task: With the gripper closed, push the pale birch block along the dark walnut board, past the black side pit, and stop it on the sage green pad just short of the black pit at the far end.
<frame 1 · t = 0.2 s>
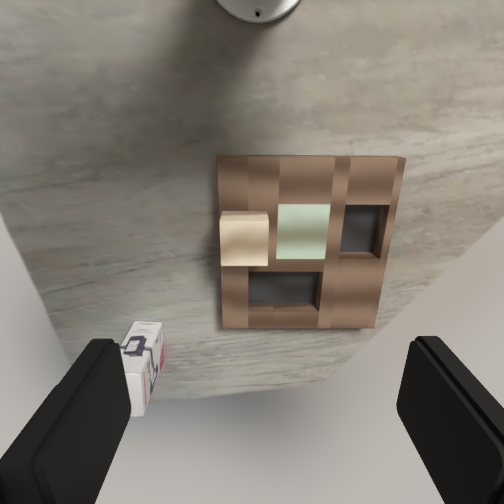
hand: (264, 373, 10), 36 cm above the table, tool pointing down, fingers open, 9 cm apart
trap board: (301, 244, 47), on the table
ink box: (149, 340, 54), on the table
birch block: (244, 232, 43), point 3 cm above the table, touching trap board
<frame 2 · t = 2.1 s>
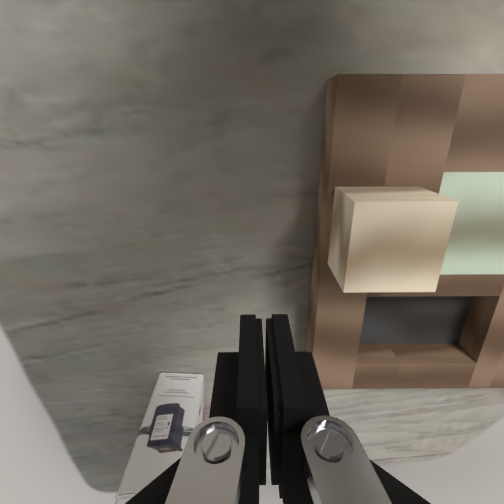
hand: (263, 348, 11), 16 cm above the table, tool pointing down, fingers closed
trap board: (450, 248, 27), on the table
ink box: (183, 400, 34), on the table
birch block: (371, 227, 23), point 3 cm above the table, touching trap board
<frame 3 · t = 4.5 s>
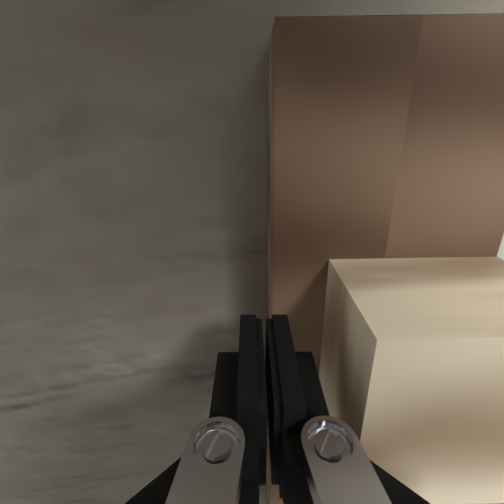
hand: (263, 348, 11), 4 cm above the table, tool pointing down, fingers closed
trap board: (499, 336, 16), on the table
birch block: (399, 327, 12), point 3 cm above the table, touching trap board
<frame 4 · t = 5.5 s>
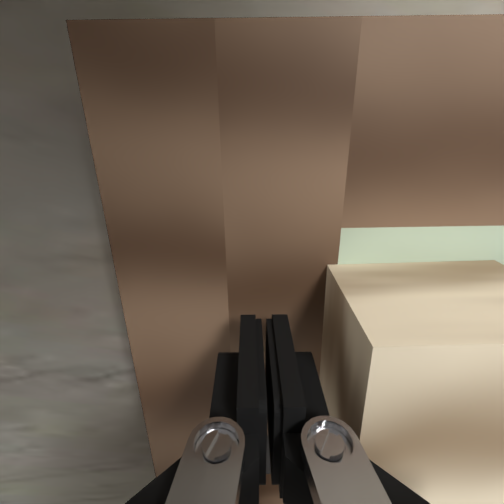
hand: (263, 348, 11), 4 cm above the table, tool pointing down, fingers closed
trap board: (389, 338, 16), on the table
birch block: (398, 331, 12), point 3 cm above the table, touching gripper
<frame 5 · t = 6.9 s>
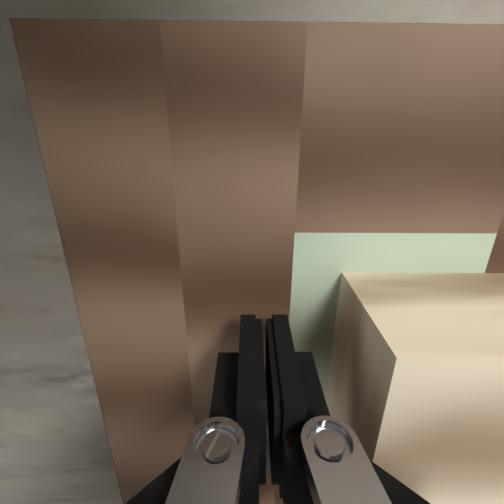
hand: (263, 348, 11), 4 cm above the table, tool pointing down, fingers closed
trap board: (355, 343, 16), on the table
birch block: (407, 340, 12), point 3 cm above the table, touching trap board
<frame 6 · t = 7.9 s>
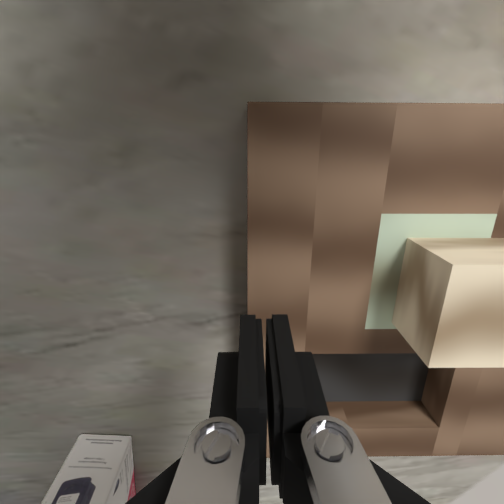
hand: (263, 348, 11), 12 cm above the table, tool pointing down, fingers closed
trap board: (404, 295, 24), on the table
ink box: (110, 464, 30), on the table
birch block: (444, 282, 20), point 3 cm above the table, touching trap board
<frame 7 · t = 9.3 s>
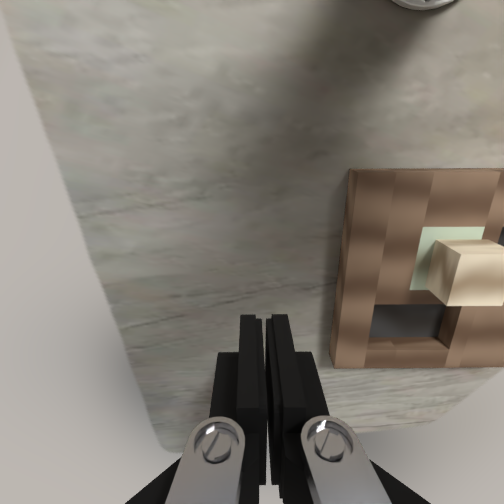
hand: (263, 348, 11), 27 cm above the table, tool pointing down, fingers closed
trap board: (430, 271, 40), on the table
birch block: (455, 263, 37), point 3 cm above the table, touching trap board
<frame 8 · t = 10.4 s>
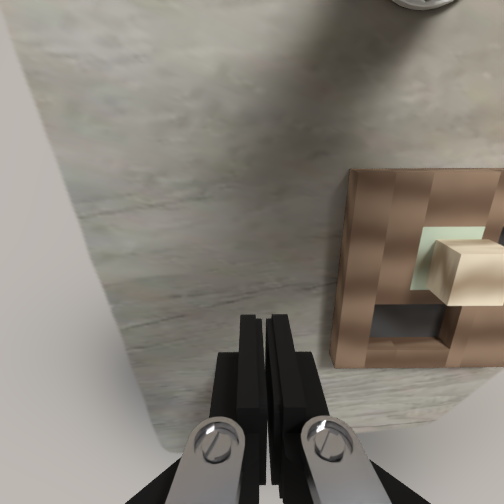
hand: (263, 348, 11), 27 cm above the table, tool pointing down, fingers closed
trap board: (431, 271, 40), on the table
birch block: (455, 263, 37), point 3 cm above the table, touching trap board
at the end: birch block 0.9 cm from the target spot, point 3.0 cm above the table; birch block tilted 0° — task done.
